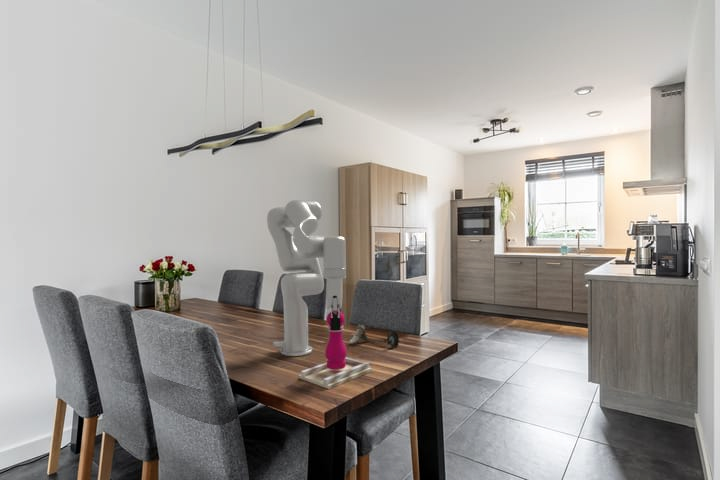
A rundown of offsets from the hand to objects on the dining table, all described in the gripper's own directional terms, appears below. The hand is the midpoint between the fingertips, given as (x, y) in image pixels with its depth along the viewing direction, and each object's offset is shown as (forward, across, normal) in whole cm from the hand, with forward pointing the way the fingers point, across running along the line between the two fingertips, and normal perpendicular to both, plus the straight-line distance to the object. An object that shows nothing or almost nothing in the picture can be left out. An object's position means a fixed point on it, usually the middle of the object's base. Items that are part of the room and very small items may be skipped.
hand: (335, 327), depth 127 cm
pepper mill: (+13, 0, 0) cm, 13 cm away
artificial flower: (+16, -35, +15) cm, 41 cm away
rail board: (+16, 0, 0) cm, 16 cm away
